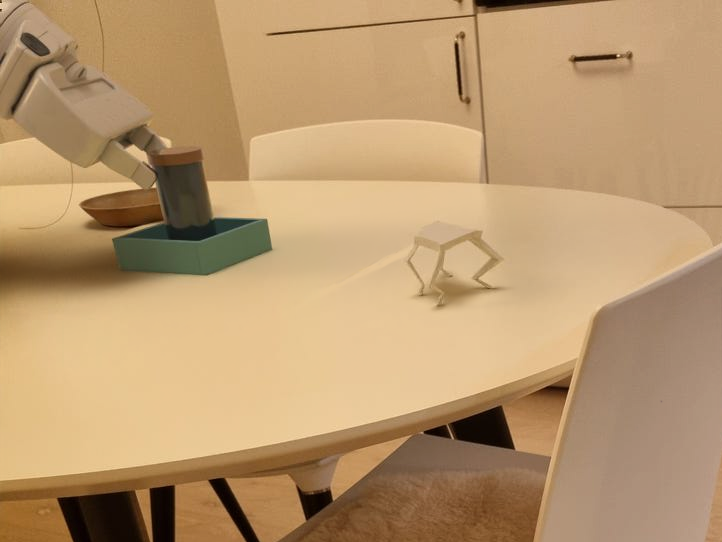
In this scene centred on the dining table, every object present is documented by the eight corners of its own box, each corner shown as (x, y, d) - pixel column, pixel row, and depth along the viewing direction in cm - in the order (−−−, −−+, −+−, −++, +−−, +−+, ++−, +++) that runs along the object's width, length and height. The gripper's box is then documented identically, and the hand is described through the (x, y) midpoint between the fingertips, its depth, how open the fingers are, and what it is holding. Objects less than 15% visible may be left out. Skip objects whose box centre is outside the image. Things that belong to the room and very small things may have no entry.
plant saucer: (83, 235, 116) (77, 212, 114) (85, 215, 127) (79, 194, 126) (205, 221, 119) (200, 198, 117) (196, 203, 131) (192, 182, 129)
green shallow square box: (120, 274, 97) (111, 238, 95) (190, 249, 105) (183, 216, 103) (207, 280, 93) (199, 242, 91) (273, 253, 101) (267, 218, 99)
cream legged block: (517, 295, 82) (515, 235, 79) (426, 310, 80) (420, 248, 77) (471, 267, 91) (468, 212, 88) (388, 279, 89) (382, 223, 86)
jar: (160, 264, 98) (134, 154, 92) (193, 251, 102) (170, 146, 96) (201, 266, 96) (177, 154, 90) (234, 254, 100) (213, 146, 94)
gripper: (56, 89, 99) (173, 184, 104) (-22, 108, 82) (121, 221, 87) (86, 35, 96) (203, 135, 102) (11, 44, 79) (156, 164, 85)
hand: (165, 175), depth 94 cm, fingers open, 8 cm apart
